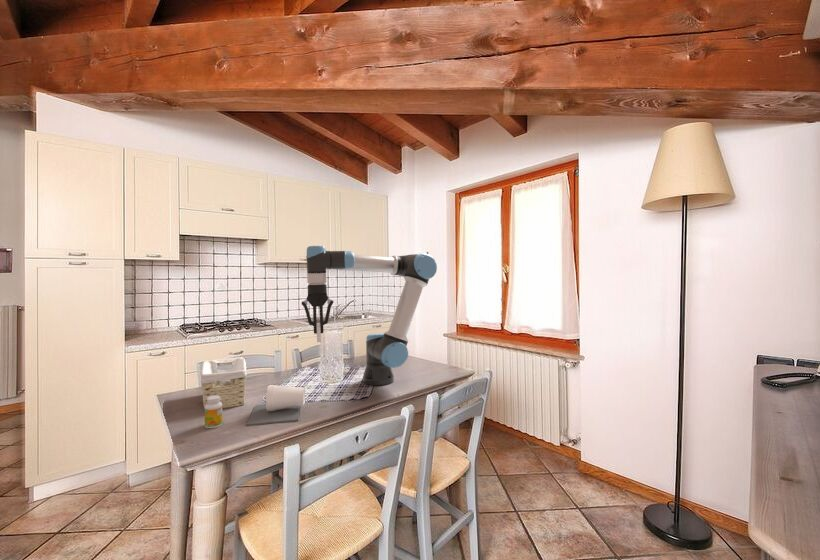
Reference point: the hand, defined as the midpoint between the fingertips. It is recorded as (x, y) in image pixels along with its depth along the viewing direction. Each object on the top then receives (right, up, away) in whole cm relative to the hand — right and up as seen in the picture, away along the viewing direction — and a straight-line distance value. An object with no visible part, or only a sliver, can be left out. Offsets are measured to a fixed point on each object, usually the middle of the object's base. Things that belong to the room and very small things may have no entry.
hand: (318, 341), depth 146 cm
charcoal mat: (-13, -25, -12) cm, 31 cm away
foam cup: (-3, -20, -9) cm, 22 cm away
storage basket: (-40, -25, +2) cm, 47 cm away
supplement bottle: (-30, -25, -23) cm, 46 cm away
